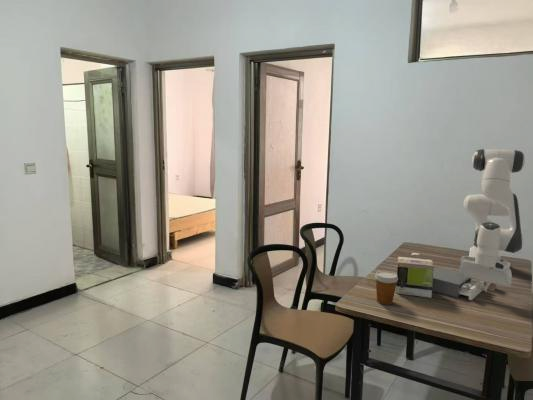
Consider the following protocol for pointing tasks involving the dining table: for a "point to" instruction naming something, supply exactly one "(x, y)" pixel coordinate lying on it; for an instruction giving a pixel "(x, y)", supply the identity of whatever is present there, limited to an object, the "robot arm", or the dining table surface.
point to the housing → (448, 281)
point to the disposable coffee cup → (385, 286)
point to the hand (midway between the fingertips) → (482, 290)
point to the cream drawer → (471, 291)
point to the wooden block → (490, 286)
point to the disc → (465, 285)
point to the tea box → (414, 277)
